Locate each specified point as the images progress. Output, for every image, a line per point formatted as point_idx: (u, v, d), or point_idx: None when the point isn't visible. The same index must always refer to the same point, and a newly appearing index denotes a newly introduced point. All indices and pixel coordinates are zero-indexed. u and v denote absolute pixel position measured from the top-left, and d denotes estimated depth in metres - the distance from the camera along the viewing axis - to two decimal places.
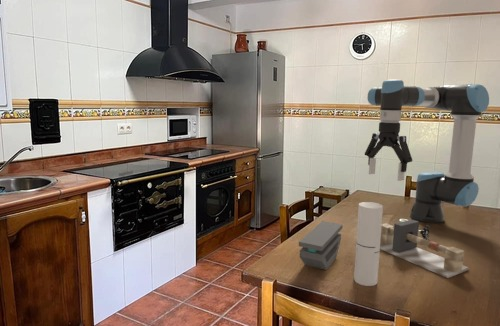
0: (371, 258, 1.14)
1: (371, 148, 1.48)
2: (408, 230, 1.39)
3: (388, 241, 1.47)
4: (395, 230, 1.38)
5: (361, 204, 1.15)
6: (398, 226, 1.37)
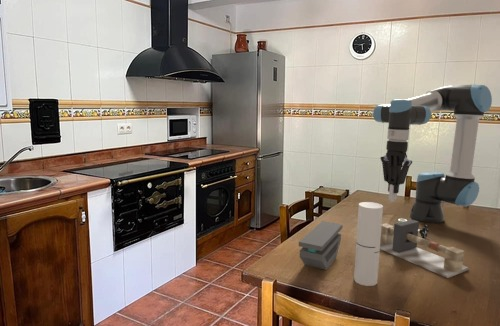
0: (371, 258, 1.14)
1: (387, 172, 1.45)
2: (408, 230, 1.39)
3: (388, 241, 1.47)
4: (395, 230, 1.38)
5: (361, 204, 1.15)
6: (398, 226, 1.37)
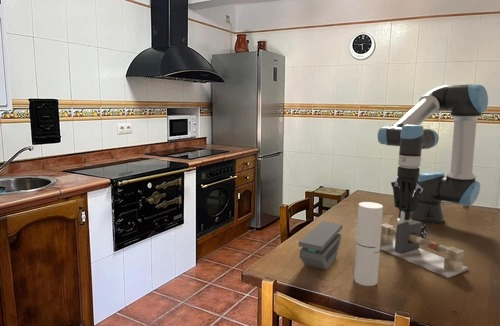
0: (371, 258, 1.14)
1: (398, 197, 1.42)
2: (410, 231, 1.38)
3: (388, 241, 1.47)
4: (397, 231, 1.37)
5: (361, 204, 1.15)
6: (400, 227, 1.36)
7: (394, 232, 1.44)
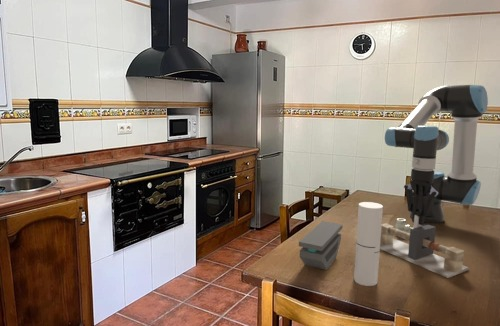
0: (371, 258, 1.14)
1: (411, 201, 1.37)
2: (425, 236, 1.33)
3: (388, 241, 1.47)
4: (411, 236, 1.32)
5: (361, 204, 1.15)
6: (414, 232, 1.31)
7: (394, 232, 1.44)
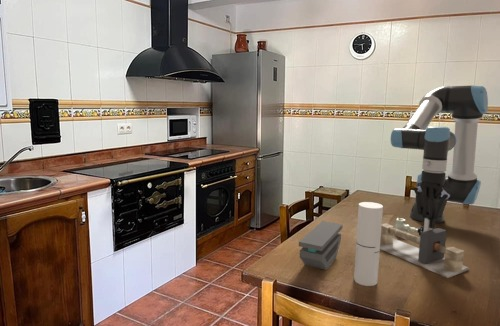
0: (371, 258, 1.14)
1: (421, 204, 1.34)
2: (435, 240, 1.29)
3: (388, 241, 1.47)
4: (421, 240, 1.29)
5: (361, 204, 1.15)
6: (425, 235, 1.28)
7: (394, 232, 1.44)
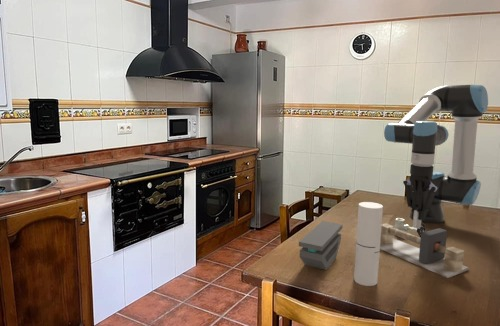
0: (371, 258, 1.14)
1: (411, 196, 1.38)
2: (436, 240, 1.29)
3: (388, 241, 1.47)
4: (422, 240, 1.29)
5: (361, 204, 1.15)
6: (426, 236, 1.28)
7: (394, 232, 1.44)
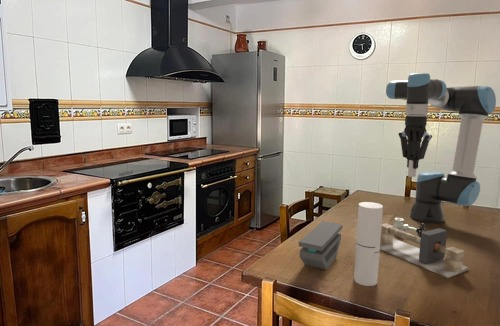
0: (371, 258, 1.14)
1: (406, 147, 1.44)
2: (436, 240, 1.29)
3: (388, 241, 1.47)
4: (422, 240, 1.29)
5: (361, 204, 1.15)
6: (426, 236, 1.28)
7: (394, 232, 1.44)
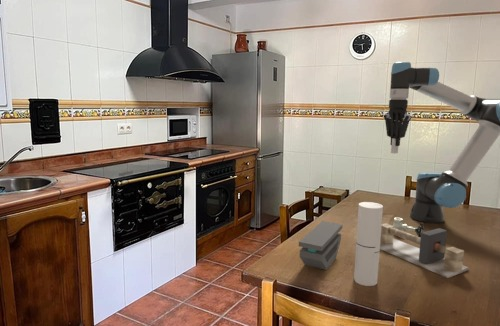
0: (371, 258, 1.14)
1: (389, 128, 1.65)
2: (436, 240, 1.29)
3: (388, 241, 1.47)
4: (422, 240, 1.29)
5: (361, 204, 1.15)
6: (426, 236, 1.28)
7: (394, 232, 1.44)
